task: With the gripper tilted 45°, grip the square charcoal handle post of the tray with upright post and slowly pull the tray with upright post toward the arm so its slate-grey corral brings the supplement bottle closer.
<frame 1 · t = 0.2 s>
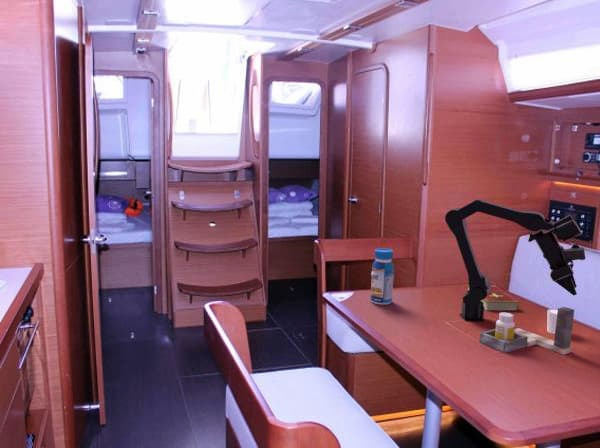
hand: (575, 291, 174), 15 cm above the table, tool tilted 35°, fingers open, 9 cm apart
supplement bottle: (503, 345, 167), resting in tray with upright post
beverage bottle: (381, 302, 206), on the table
hardcover book: (490, 303, 210), on the table
tray with upright post: (526, 326, 164), point 7 cm above the table, slide at 0.0 cm
shot glass: (556, 332, 179), on the table
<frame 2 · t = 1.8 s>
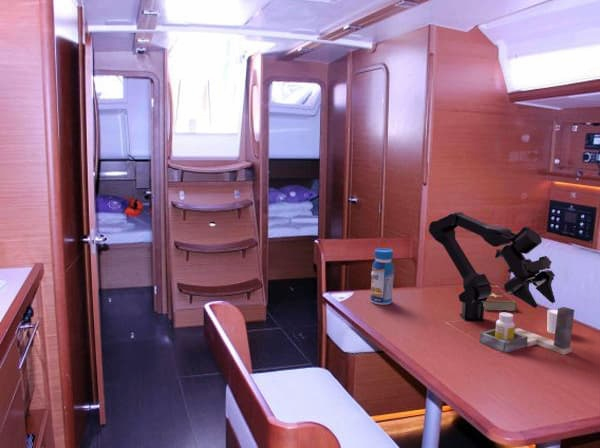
hand: (545, 304, 166), 13 cm above the table, tool tilted 45°, fingers open, 9 cm apart
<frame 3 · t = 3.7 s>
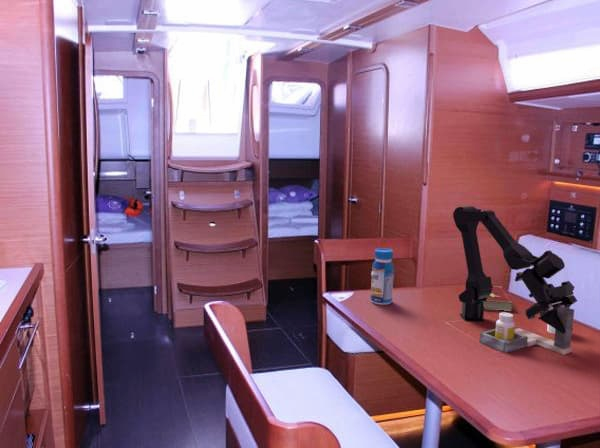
hand: (568, 332, 160), 7 cm above the table, tool tilted 45°, fingers closed on tray with upright post, 3 cm apart
tray with upright post: (526, 326, 164), point 7 cm above the table, slide at 0.0 cm, touching gripper
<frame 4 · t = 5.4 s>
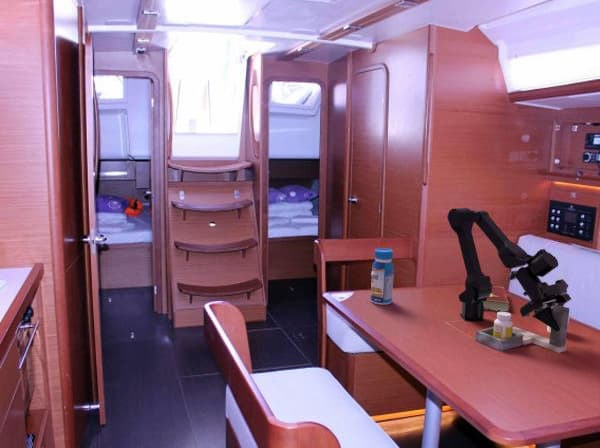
hand: (562, 329, 162), 7 cm above the table, tool tilted 45°, fingers closed on tray with upright post, 3 cm apart
supplement bottle: (501, 344, 167), resting in tray with upright post
tray with upright post: (522, 324, 165), point 7 cm above the table, slide at 1.5 cm, touching supplement bottle, gripper
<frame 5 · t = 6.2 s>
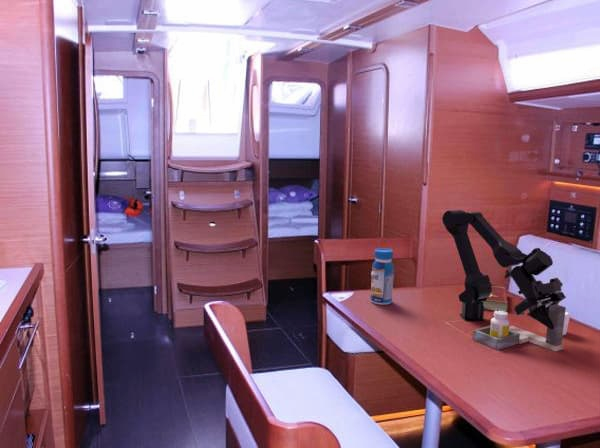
hand: (556, 327, 163), 7 cm above the table, tool tilted 45°, fingers closed on tray with upright post, 3 cm apart
supplement bottle: (498, 343, 168), resting in tray with upright post
tray with upright post: (519, 323, 166), point 7 cm above the table, slide at 2.7 cm, touching supplement bottle, gripper
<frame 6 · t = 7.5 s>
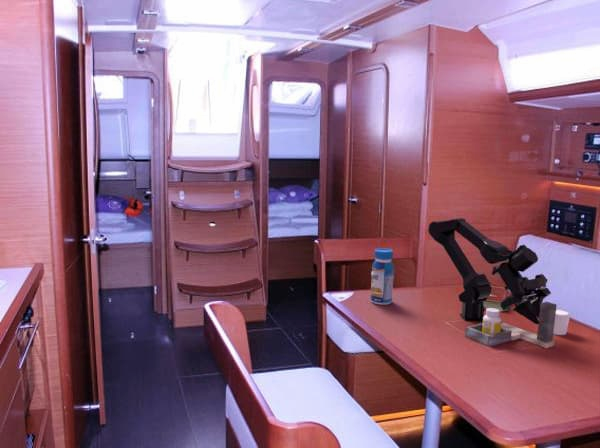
hand: (541, 322, 168), 7 cm above the table, tool tilted 45°, fingers closed on tray with upright post, 3 cm apart
supplement bottle: (490, 340, 170), resting in tray with upright post
tray with upright post: (510, 320, 168), point 7 cm above the table, slide at 5.6 cm, touching supplement bottle, gripper
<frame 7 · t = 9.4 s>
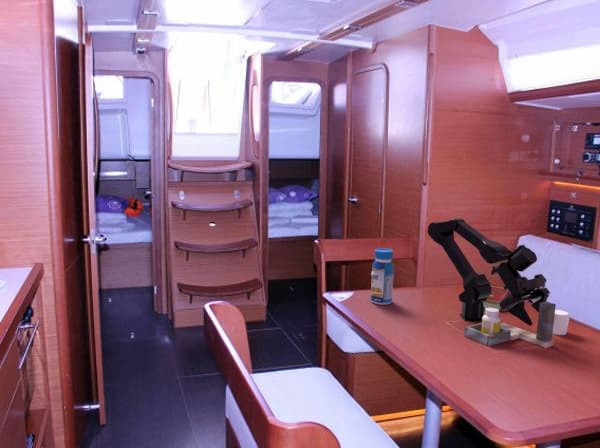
hand: (540, 322, 168), 7 cm above the table, tool tilted 45°, fingers open, 9 cm apart
supplement bottle: (489, 340, 171), resting in tray with upright post
tray with upright post: (509, 320, 169), point 7 cm above the table, slide at 5.8 cm
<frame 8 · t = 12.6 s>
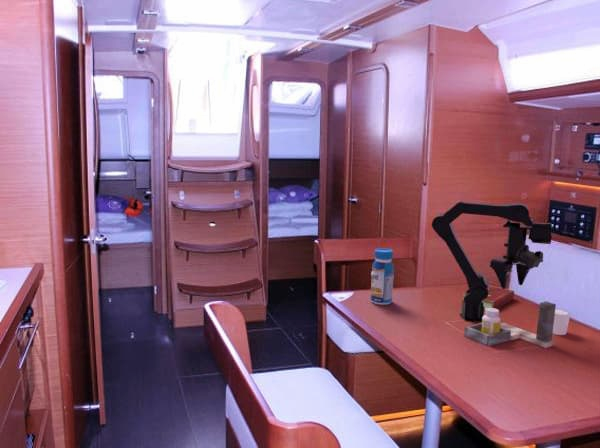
hand: (512, 286, 183), 13 cm above the table, tool pointing down, fingers open, 9 cm apart
at the end: tray with upright post slide at 5.8 cm; supplement bottle moved 5.1 cm from its start; supplement bottle tilted 0° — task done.
